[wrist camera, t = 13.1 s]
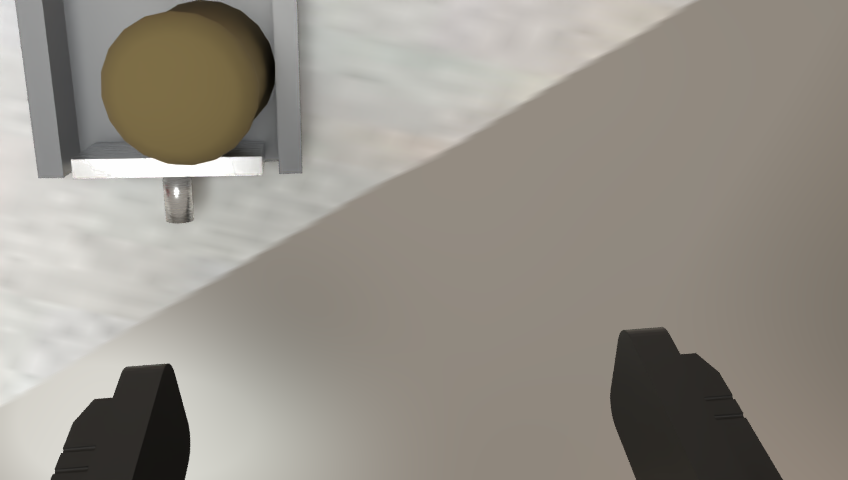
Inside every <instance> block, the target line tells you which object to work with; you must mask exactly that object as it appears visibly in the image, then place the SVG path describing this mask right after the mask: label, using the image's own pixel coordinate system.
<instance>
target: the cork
mask: <svg viewBox="0 0 848 480" xmlns="http://www.w3.org/2000/svg"><path fill="white" fill-rule="evenodd" d="M274 85H275V60H274V57H273V53H272V49H271V46H270V43H269V41H268V40H267V38H266V37H265V35H264V34H263V32H262V30H261V29H260V27H259V26H258V25H257V24H256V23H255V22H254V21H253V20H252V19H250V18H249V17H248V16H247V15H246V14H245V13H243V12H242V11H241V10H238V9H236V8H234V7H231V6H229V5H227V4H225V3H222V2H216V1H207V0H196V1H191V2H187V3H182V4H178V5H176V6H175V7H173V8H172V9H170V10H168V11H167V12H163V13H158V14H154V15H149V16H145V17H143V18H141V19H140V20H138V21H137V22H135V23H133V24H132V25H130V26H129V27H127V28H125V29H124V30H123V31H122V32H121V34H120V35H119V36H118V37H117V39H116V40H115V41H114V42H113V44H112V45H111V46H110V47H109V49H108V52H107V55H106V58H105V61H104V64H103V67H102V70H101V97H102V100H103V103H104V106H105V109H106V112H107V115H108V118H109V120H110V122H111V123H112V125H113V126H114V127H115V129H116V130H117V131H118V133H119V134H120V135H121V137H122V138H123V140H124V141H126V142H127V143H128V144H130V145H131V146H132V147H134V148H135V149H136V150H138V151H139V152H140V153H142V154H143V155H145V156H148V157H150V158H153V159H156V160H158V161H161V162H164V163H166V164H175V165H191V166H193V165H197V164H201V163H205V162H209V161H213V160H216V159H218V158H219V157H221V156H222V155H224V154H226V153H227V152H229V151H231V150H232V149H234V148H235V147H236V146H237V145H238V143H239V142H240V141H241V140H242V139H243V137H244V136H245V135H246V134H247V133H248V131H249V130H250V128H251V125H252V122H253V120H254V119H255V118H256V117H257V116H258V115H259V113H260V112H261V111H262V110H263V108H264V107H265V106H266V105H267V103H268V101H269V98H270V96H271V93H272V90H273V88H274Z"/></svg>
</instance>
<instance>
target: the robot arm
mask: <svg viewBox="0 0 848 480" xmlns="http://www.w3.org/2000/svg"><path fill="white" fill-rule="evenodd" d="M610 401H611V411H612V416H613V420H614V424H615V427H616V429H617V432H618V434H619V437H620V440H621V442H622V444H623V447H624V450H625V452H626V455H627V457H628V460H629V462H630V465H631V467H632V470H633V473H634V475H635V478H636V480H783V479H782V478H781V476H780V474H779V473H778V471H777V469H776V468H775V466H774V464H773V463H772V461H771V459H770V457H769V456H768V454H767V452H766V451H765V449H764V447H763V446H762V444H761V442H760V441H759V439H758V437H757V436H756V434H755V432H754V431H753V429H752V427H751V425H750V424H749V422H748V420H747V419H746V418H744V417H743V412H742V411H741V409H740V407H739V405H738V403H737V402H736V400H735V399H733V398H732V393H731V392H730V390H729V389H728V387H727V385H726V383H725V382H724V380H723V378H722V377H721V375H720V373H719V372H718V371H717V370H716V369H714V368H713V367H712V366H711V365H709V364H708V363H707V362H706V361H705V360H703V359H702V358H701V357H700V356H699V355H697V354H696V353H693V354H680V353H679V351H678V349H677V347H676V345H675V344H674V342H673V340H672V338H671V336H670V335H669V333H668V331H667V330H666V329H665V328H663V327H658V328H645V329H632V330H623V331H621V333H620V335H619V339H618V345H617V352H616V358H615V365H614V372H613V378H612V385H611V393H610ZM63 450H64V451H63V453H61V455H60V457H59V460H58V462H57V465H56V467H55V474H53V475H52V477H51V480H185V476H186V471H187V467H188V462H189V455H190V431H189V425H188V421H187V418H186V413H185V410H184V406H183V402H182V399H181V395H180V392H179V388H178V384H177V380H176V377H175V373H174V370H173V368H172V366H171V365H170V364H156V365H143V366H131V367H126V368H124V370H123V371H122V373H121V376H120V379H119V381H118V385H117V387H116V390H115V393H114V396H113V398H103V399H94V400H93V401H92V402H91V403H90V405H89V406H88V407H87V408H86V409H85V410H84V411H83V412H82V413H81V415H80V416H79V417H78V418H77V419H76V420H75V421H74V422H73V424H72V427H71V430H70V432H69V435H68V437H67V440H66V442H65V445H64V447H63Z"/></svg>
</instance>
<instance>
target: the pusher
mask: <svg viewBox="0 0 848 480" xmlns="http://www.w3.org/2000/svg"><path fill="white" fill-rule="evenodd" d="M264 161H265V147H264V141H240V142H239V143H238V145H237V146H236V147H235V148H234V149H232V150H231V151H229V152H227V153H226V154H224V155H222V156H221V157H219V158H218V159H216V160H213V161H209V162H205V163H201V164H197V165H193V166H191V165H175V164H166V163H164V162H161V161H158V160H156V159H153V158H150V157H148V156H145V155H143V154H142V153H140V152H139V151H138V150H136V149H135V148H134V147H132V146H131V145H130V144H128V143H94V144H92V145H91V146H89V147H88V148H86V149H85V150H84V151H82V152H81V153H79V154H78V155H77V156H75V157H74V158H72V159H71V165H72V173H73V179H90V178H143V177H163V188H164V200H165V211H166V221H167V222H169V223H186V222H190V221H193V220H194V211H193V198H192V184H191V177H196V176H248V175H262V173H263V167H264Z"/></svg>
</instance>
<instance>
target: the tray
mask: <svg viewBox="0 0 848 480" xmlns="http://www.w3.org/2000/svg"><path fill="white" fill-rule="evenodd" d="M191 1H196V0H15V4H16V11H17V19H18V27H19V34H20V42H21V49H22V57H23V64H24V72H25V80H26V87H27V95H28V102H29V110H30V117H31V125H32V133H33V140H34V148H35V155H36V163H37V171H38V178H64V177H65V176H67V175H68V174H69V173H71V172H72V165H71V159H72V158H74V157H75V156H77V155H78V154H79V153H81V152H82V151H84V150H85V149H86V148H88V147H89V146H91V145H92V144H94V143H127V142H126V141H124V140H123V138H122V137H121V135H120V134H119V133H118V131H117V130H116V129H115V127H114V126H113V125H112V123H111V122H110V120H109V118H108V115H107V112H106V109H105V106H104V103H103V100H102V97H101V70H102V67H103V64H104V61H105V58H106V55H107V52H108V49H109V47H110V46H111V45H112V44H113V42H114V41H115V40H116V39H117V37H118V36H119V35H120V34H121V32H122V31H123V30H124V29H125V28H127V27H129V26H130V25H132V24H133V23H135V22H137V21H138V20H140V19H141V18H143V17H145V16H149V15H154V14H158V13H163V12H167V11H168V10H170V9H172V8H173V7H175V6H176V5H178V4H182V3H187V2H191ZM207 1H216V2H222V3H225V4H227V5H229V6H231V7H234V8H236V9H238V10H241V11H242V12H243V13H245V14H246V15H247V16H248V17H249V18H250V19H252V20H253V21H254V22H255V23H256V24H257V25H258V26H259V27H260V29H261V30H262V32H263V34H264V35H265V37H266V38H267V40H268V41H269V43H270V46H271V49H272V53H273V57H274V60H275V85H274V88H273V90H272V93H271V96H270V98H269V101H268V103H267V105H266V106H265V107H264V108H263V110H262V111H261V112H260V113H259V115H258V116H257V117H256V118H255V119H254V120H253V122H252V125H251V128H250V130H249V131H248V133H247V134H246V135H245V136H244V137H243V139H242V140H241V141H264V147H265V161H279V174H291V173H302V150H301V117H300V84H299V52H298V19H297V0H207Z"/></svg>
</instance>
